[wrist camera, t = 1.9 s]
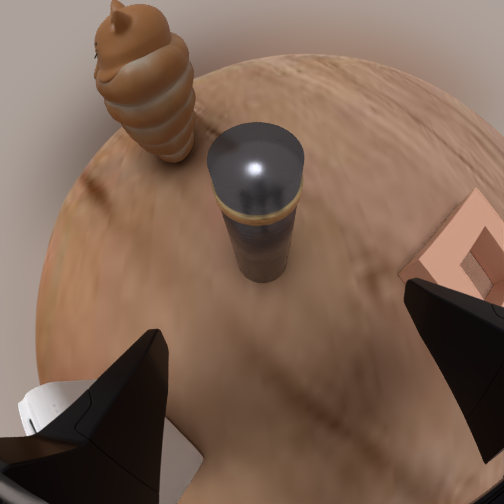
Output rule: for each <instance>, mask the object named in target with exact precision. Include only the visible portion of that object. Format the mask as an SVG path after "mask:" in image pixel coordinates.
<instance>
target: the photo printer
mask: <svg viewBox="0 0 504 504" xmlns="http://www.w3.org/2000/svg"><path fill="white" fill-rule="evenodd" d="M96 380H97V379H94V380H79V381H60V382H51V383H46V384H43V385H41V386H38V387H36V388H34V389H32V390H31V391H29V392H28V393H26V395H25V397H24V399H23V400H22V401H21V402H19V403H18V408H19V413H20V417H21V420H22V423H23V427H24V429H25V432H26V435H27V436H30V435H33V434H35V433H37V432H39V431H40V430H42V429H43V428H44V427H45V426H46V425H48V424H49V423H50V422H51V421H52V420H54V419H55V418H56V417H57V416H58V415H60V414H61V413H62V412H63V411H64V410H66V409H67V408H68V407H69V406H70V405H71V404H72V403H74V402H75V401H76V400H77V399H78V398H79V397H80V396H81V395H82V394H83V393H84V392H85V391H86V390H87V389H89V387H90V386H91V385H92V384H93V383H94V382H95V381H96ZM202 462H203V457H202V455H201V454H200V453H199V451H198V450H197V449H196V448H195V447H194V446H193V445H192V444H191V443H190V442H189V441H188V440H187V439H186V438H185V437H184V436H183V435H182V434H181V433H180V432H179V431H178V429H177V428H176V427H175V426H174V425H173V424H172V423H171V422H170V421H169V420H168V419H167V418H166V417H165V422H164V433H163V444H162V457H161V472H160V491H159V504H177V502H178V501H179V499H180V498H181V496H182V495H183V493H184V492H185V490H186V489H187V487H188V485H189V484H190V482H191V481H192V479H193V477H194V476H195V474H196V473H197V471H198V469H199V468H200V465H201V463H202Z"/></svg>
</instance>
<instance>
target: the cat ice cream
mask: <svg viewBox="0 0 504 504" xmlns="http://www.w3.org/2000/svg"><path fill="white" fill-rule="evenodd" d="M95 51H96V56H97V59H98V61H97V65H96V68H95V73H94V78H95V79H96V87H97V90H98V91H99V93H100V94H101V95H102V96H103V97H104V101H105V105H106V108H107V110H108V112H109V114H110V115H111V116H112V117H113V119H115V120H116V121H118V122H119V123H121V125H122V127H123V128H124V129H125V131H126V132H127V133H128V134H129V135H130V137H131V138H132V139H133V140H134V141H136V142H137V143H138V144H139V145H140V146H141V147H142V148H144V149H145V150H146V151H148V152H151V153H153V154H156V155H157V156H158V157H159V158H161V159H162V160H164V161H167V162H179V161H181V160H183V159H184V158H185V157H186V156H187V155H188V154H189V153H190V151H191V149H192V146H193V143H194V132H193V129H194V125H195V113H194V110H193V109H194V105H195V98H196V97H195V92H194V89H193V87H192V85H193V77H194V70H193V66H192V64H191V62H190V61H189V52H188V48H187V46H186V43H185V42H184V40H183V39H182V38H181V37H179V36H178V35H177V34H174V33H171V32H170V29H169V25H168V22H167V20H166V18H165V16H164V15H163V14H162V12H161V11H160V10H158V9H157V8H155V7H153V6H150V5H145V4H135V5H130V6H127V7H125V6H124V5H123V4H122V3H120V2H119V1H117V0H112V2H111V13H110V15H109V16H108V17H107V18H106V19H105V20H104V22H103V23H102V24H101V25H100V27H99V28H98V30H97V33H96V36H95ZM96 56H95V58H96Z"/></svg>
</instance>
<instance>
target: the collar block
mask: <svg viewBox="0 0 504 504" xmlns="http://www.w3.org/2000/svg"><path fill="white" fill-rule="evenodd" d="M469 250H470V252H471V253H472V254H473V256H474V257H475V258H476V260H477V261H478V263H479V264H480V265H481V267H482V268H483V270H484V271H485V273H486V274H487V276H488V277H489V279H490V280H491V282H492V283H493V287H492V288H491V290H490V292H489V294H488V295H487V297H486V299H485V300H484V299H483V298H482V296H481V295H480V293H479V292H478V290H477V289H476V287H475V286H474V284H473V283H472V282H471V280H470V279H469V277H468V276H467V275H466V273H465V272H464V270H463V269H462V268H461V266H460V264H461V262H462V261H463V259H464V258H465V256H466V255H467V253H468V252H469ZM398 276H399V277H400V278H401V279H402V281H403V282H404V283H405V284H406V282H407V280H408V279H412V278H415V277H417V278H420V279H423V280H426V281H429V282H432V283H435V284H438V285H441V286H444V287H447V288H450V289H453V290H456V291H459V292H462V293H464V294H467V295H470V296H473V297H476V298H479V299H482V300H484V301H487V302H490V304H491V303H493V304H496V305H498V306H501V307H504V222H503V221H502V220H501V218H500V217H499V216H498V214H497V213H496V212H495V210H494V209H493V208H492V206H491V205H490V204H489V203H488V201H487V200H486V199H485V198H484V196H483V195H482V194H481V193H480V192H479V190H478V189H477V188H475V189H474V190H473V191H472V192H471V193H470V194H469V195H468V196H467V197H466V198H465V199H464V200H463V201H462V202H461V203H460V204H459V205H458V206H457V207H456V208H455V209H454V211H453V212H452V213H451V215H450V216H449V217H448V218H447V220H446V221H445V222H444V223H443V224H442V226H441V227H440V228H439V229H438V230H437V232H436V233H435V234H434V235H433V236H432V237H431V239H430V240H429V241H428V242H427V243H426V244H425V246H424V247H423V248H422V249H421V250H420V251H419V252H418V253H417V254H416V256H415V257H414V258H413V259H412V260H411V261H410V262H409V263H408V264H407V265H406V266H405V267H404V268H403V270H402V271H401V272H400V273H399V274H398Z"/></svg>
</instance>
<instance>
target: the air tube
mask: <svg viewBox="0 0 504 504" xmlns="http://www.w3.org/2000/svg"><path fill="white" fill-rule="evenodd" d="M207 165H208V169H209V172H210V176H211V184H212V190H213V193H214V196H215V199H216V202H217V204H218V206H219V208H220V209H221V211H222V214H223V218H224V221H225V224H226V227H227V230H228V234H229V237H230V240H231V243H232V246H233V249H234V252H235V256H236V259H237V262H238V265H239V268H240V270H241V272H242V273H243V275H244V276H245V277H247V278H248V279H249V280H251V281H254V282H258V283H267V282H271V281H273V280H275V279H277V278H278V277H279V276H280V275H281V274H282V273H283V271H284V269H285V267H286V263H287V258H288V252H289V247H290V242H291V236H292V231H293V225H294V220H295V214H296V208H297V204H298V202H299V200H300V197H301V191H302V186H303V174H302V172H303V165H304V151H303V148H302V146H301V144H300V142H299V141H298V140H297V138H296V137H295V136H294V135H293V134H292V133H290V132H289V131H287V130H286V129H284V128H282V127H279V126H277V125H274V124H269V123H262V122H253V123H245V124H241V125H237V126H235V127H232V128H230V129H228V130H227V131H225V132H223V133H222V134H221V135H220V136H219V137H217V138H216V140H215V141H214V142H213V143H212V145H211V147H210V149H209V152H208V156H207Z"/></svg>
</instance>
